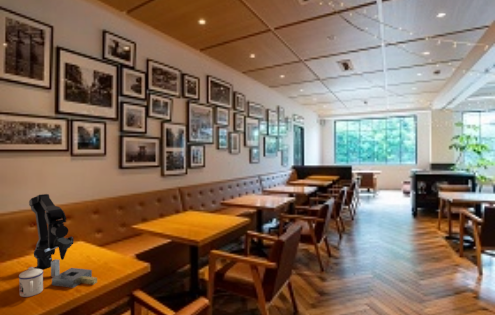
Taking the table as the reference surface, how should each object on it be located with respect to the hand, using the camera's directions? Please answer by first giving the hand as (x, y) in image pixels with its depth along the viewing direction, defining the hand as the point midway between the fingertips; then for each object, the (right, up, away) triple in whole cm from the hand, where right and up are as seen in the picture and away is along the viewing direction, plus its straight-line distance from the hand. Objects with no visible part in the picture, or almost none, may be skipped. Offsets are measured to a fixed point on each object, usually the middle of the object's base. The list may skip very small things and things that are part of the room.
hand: (55, 263), depth 149 cm
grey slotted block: (+16, -7, -6) cm, 18 cm away
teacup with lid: (+1, -8, -18) cm, 20 cm away
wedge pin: (0, -7, 0) cm, 7 cm away
